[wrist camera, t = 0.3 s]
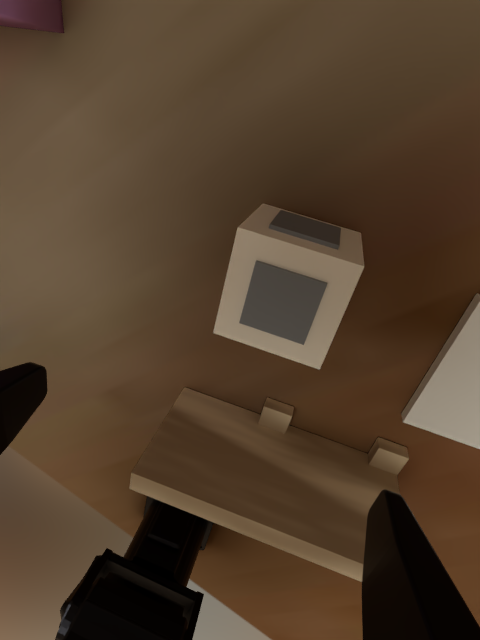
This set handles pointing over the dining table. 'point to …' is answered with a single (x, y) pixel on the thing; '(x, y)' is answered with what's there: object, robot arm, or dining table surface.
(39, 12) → the violet knobbed box
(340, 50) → the dining table surface
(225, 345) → the dining table surface
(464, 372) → the cream square tile
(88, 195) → the dining table surface
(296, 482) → the oak screen
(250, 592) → the dining table surface
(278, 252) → the cream grey-paneled cube
